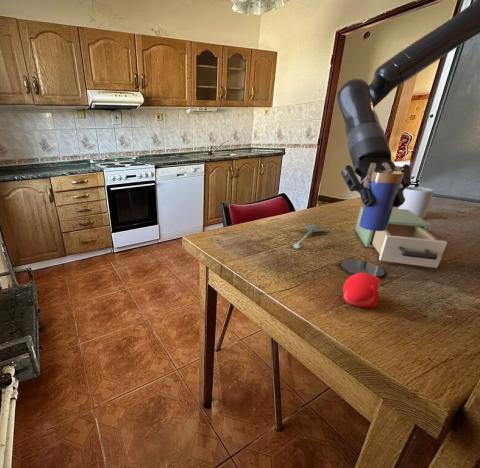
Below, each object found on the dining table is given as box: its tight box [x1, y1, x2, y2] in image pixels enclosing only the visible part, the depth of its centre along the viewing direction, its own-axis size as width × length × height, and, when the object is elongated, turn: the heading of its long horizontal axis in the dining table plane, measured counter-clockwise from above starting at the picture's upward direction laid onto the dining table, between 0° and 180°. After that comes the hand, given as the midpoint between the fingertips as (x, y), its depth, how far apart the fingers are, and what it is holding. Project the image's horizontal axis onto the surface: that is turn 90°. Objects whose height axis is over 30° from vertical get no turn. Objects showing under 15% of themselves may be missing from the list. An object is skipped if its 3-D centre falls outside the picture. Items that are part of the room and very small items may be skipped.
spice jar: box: [359, 170, 404, 231], centre depth 59 cm, size 5×5×13 cm
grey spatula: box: [293, 224, 326, 249], centre depth 84 cm, size 22×3×7 cm
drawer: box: [371, 224, 448, 269], centre depth 68 cm, size 19×11×7 cm, turn 156°
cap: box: [342, 273, 382, 308], centre depth 52 cm, size 8×6×6 cm
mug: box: [397, 186, 435, 220], centre depth 101 cm, size 12×8×11 cm
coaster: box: [340, 259, 385, 279], centre depth 65 cm, size 9×9×1 cm
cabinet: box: [354, 206, 431, 249], centre depth 80 cm, size 16×13×9 cm
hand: (384, 205), depth 57 cm, fingers closed on spice jar, 5 cm apart
